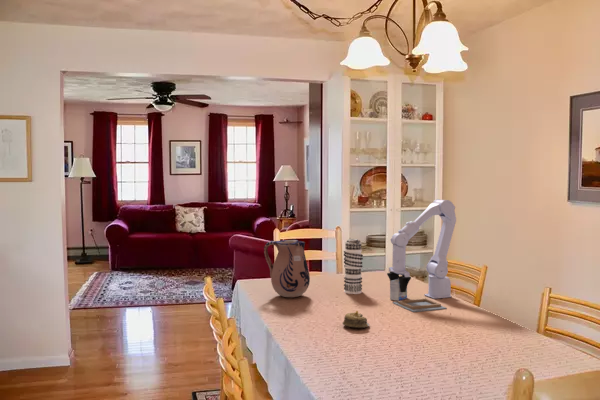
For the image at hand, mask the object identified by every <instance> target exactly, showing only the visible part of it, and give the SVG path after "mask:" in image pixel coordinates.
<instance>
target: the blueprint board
mask: <svg viewBox="0 0 600 400" xmlns="http://www.w3.org/2000/svg"><path fill="white" fill-rule="evenodd" d="M392 304H393V305H396V306H398V307H401V308H403V309H405V310H407V311H410V312H412V313H419V312H420V313H421V312H429V311H439V310H447V308H448V307H446V306H443V305H442V304H441V303H439V302H437V301H433V300H432V299H428V298H415V299H403V300H400V301H392Z"/></svg>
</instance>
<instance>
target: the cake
mask: <svg viewBox="0 0 600 400" xmlns="http://www.w3.org/2000/svg"><path fill="white" fill-rule="evenodd" d="M342 325H344V326H346V327H350V328H368V327H370V323H368V319H367V317H365V316H363V313H359V311H358V310H356V311H355V312H348V313H346V314H345V315H344V318H343V322H342Z"/></svg>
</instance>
